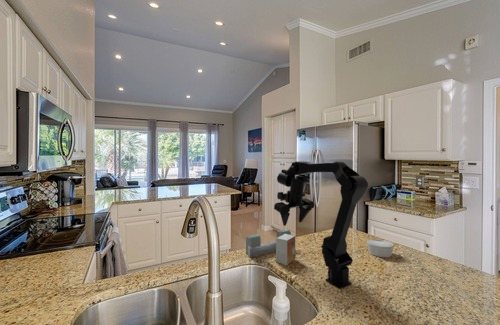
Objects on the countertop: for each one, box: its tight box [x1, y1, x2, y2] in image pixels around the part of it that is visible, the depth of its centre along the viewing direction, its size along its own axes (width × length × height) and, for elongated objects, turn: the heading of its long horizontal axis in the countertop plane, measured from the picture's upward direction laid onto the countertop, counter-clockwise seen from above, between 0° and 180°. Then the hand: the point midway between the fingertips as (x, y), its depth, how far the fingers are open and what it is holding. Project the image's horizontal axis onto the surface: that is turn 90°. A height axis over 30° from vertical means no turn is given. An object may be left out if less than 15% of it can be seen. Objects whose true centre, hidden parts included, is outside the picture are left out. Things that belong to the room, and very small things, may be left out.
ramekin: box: [366, 238, 395, 258], centre depth 112 cm, size 11×11×5 cm
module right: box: [276, 229, 292, 238], centre depth 119 cm, size 5×5×9 cm
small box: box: [275, 234, 296, 266], centre depth 103 cm, size 8×6×10 cm
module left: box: [245, 234, 262, 255], centre depth 110 cm, size 5×5×9 cm
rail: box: [247, 239, 276, 258], centre depth 113 cm, size 3×24×5 cm, turn 119°
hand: (292, 223), depth 104 cm, fingers open, 9 cm apart
